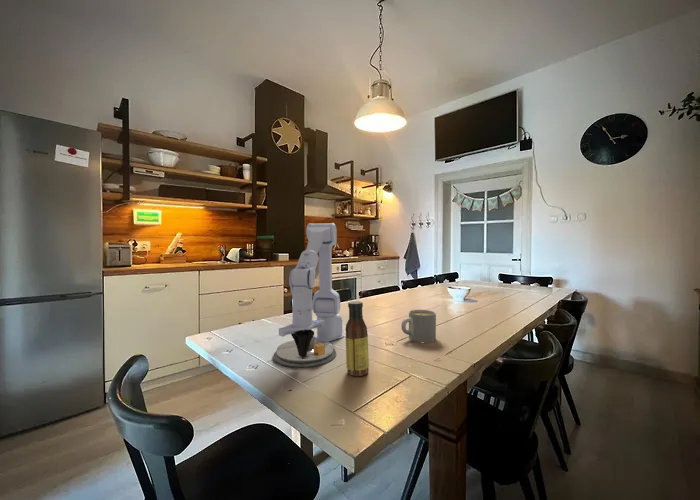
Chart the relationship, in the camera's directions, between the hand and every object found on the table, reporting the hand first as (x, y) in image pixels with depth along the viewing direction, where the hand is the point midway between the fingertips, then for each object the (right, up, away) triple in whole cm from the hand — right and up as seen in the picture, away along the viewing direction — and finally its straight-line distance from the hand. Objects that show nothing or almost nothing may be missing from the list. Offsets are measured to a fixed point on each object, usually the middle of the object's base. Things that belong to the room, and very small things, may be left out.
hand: (302, 355), depth 90 cm
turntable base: (-1, -3, +10) cm, 10 cm away
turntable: (-1, -3, +10) cm, 10 cm away
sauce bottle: (+16, -4, -4) cm, 17 cm away
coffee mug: (+40, -3, +27) cm, 48 cm away
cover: (0, -1, +9) cm, 9 cm away
